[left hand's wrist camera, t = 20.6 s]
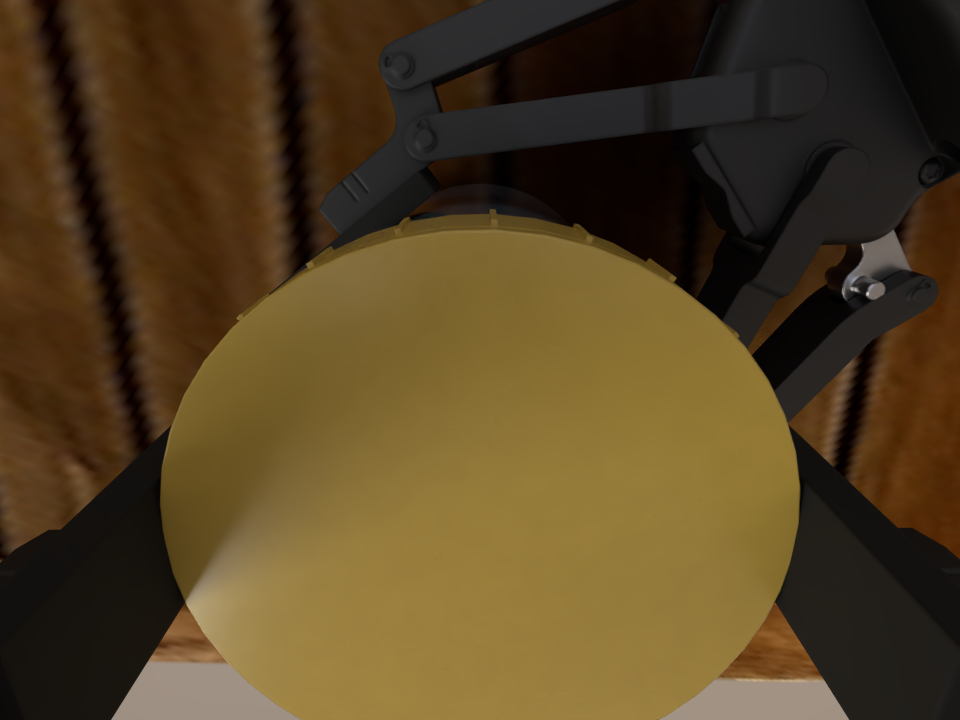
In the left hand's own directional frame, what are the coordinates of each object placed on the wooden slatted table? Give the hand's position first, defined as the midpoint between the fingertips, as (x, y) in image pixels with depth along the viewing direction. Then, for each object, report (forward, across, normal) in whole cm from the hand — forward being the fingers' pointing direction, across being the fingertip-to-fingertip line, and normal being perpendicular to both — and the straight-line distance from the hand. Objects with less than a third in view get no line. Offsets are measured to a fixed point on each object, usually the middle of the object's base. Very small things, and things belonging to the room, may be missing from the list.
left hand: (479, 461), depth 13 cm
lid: (-3, 0, 0) cm, 3 cm away
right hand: (+7, -3, -3) cm, 8 cm away
